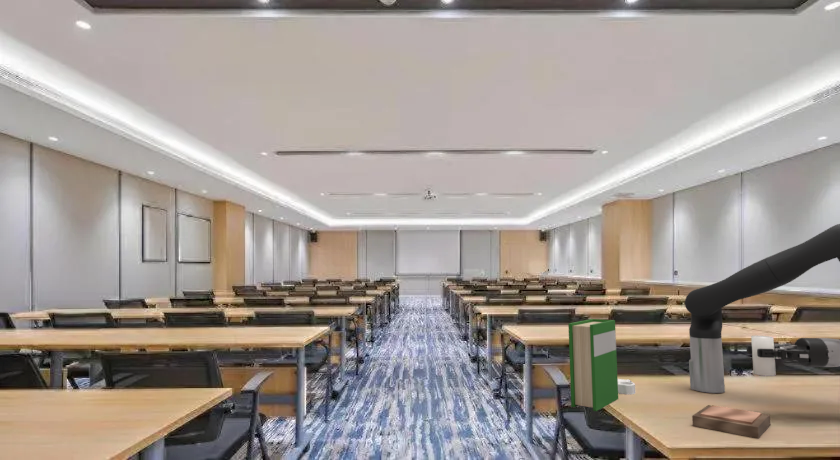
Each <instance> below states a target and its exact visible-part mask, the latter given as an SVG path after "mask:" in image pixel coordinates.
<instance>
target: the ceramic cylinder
mask: <svg viewBox="0 0 840 460" xmlns="http://www.w3.org/2000/svg"><path fill="white" fill-rule="evenodd" d="M750 340H751V346H752V354H751V356H752V370H753V371H752V372H753V374H754V375H758V376H763V377H775V376H777V372H776V371H777V369H776V358H763V357H758V356H757V349H773V350H774V344H775V343H774V341H775V340H774V336H771V335H770V336H769V335H768V336H767V335H751V336H750Z"/></svg>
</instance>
